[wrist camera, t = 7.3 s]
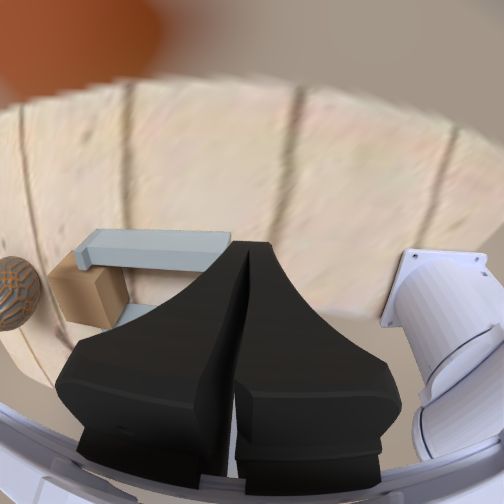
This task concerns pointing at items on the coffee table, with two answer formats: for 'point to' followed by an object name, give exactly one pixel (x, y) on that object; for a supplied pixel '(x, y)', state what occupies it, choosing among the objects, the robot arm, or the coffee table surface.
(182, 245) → the pair of lipped bars
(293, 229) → the coffee table surface
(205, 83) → the coffee table surface
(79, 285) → the walnut block
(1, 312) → the vase
